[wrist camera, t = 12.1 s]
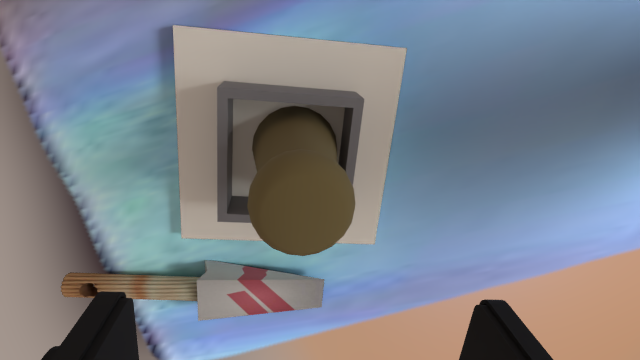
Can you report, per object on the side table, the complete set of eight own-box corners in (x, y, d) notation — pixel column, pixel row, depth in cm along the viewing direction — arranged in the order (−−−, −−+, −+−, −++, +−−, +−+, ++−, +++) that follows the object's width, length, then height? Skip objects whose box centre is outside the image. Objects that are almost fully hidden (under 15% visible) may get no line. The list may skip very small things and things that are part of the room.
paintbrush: (321, 325, 31) (60, 315, 29) (320, 302, 33) (80, 292, 32) (326, 285, 29) (52, 273, 28) (324, 265, 32) (73, 252, 30)
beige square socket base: (402, 47, 26) (422, 50, 23) (371, 238, 32) (383, 265, 28) (176, 25, 24) (158, 24, 21) (184, 231, 30) (171, 260, 26)
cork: (235, 157, 27) (207, 235, 17) (284, 87, 26) (287, 125, 15) (304, 202, 29) (317, 296, 19) (353, 138, 27) (397, 203, 17)
